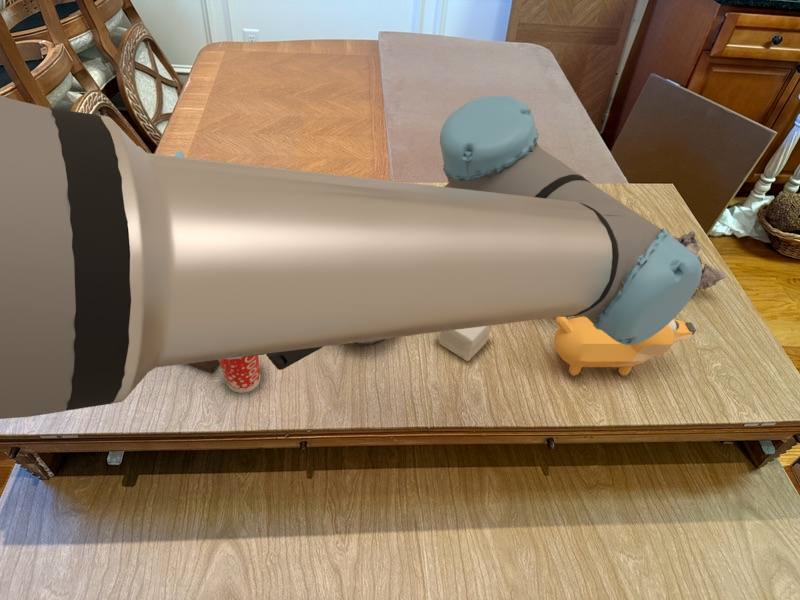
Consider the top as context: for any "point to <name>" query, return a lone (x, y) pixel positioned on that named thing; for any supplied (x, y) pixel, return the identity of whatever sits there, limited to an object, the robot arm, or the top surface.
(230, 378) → the beverage cup
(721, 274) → the mineral specimen
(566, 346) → the dog
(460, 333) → the small box
